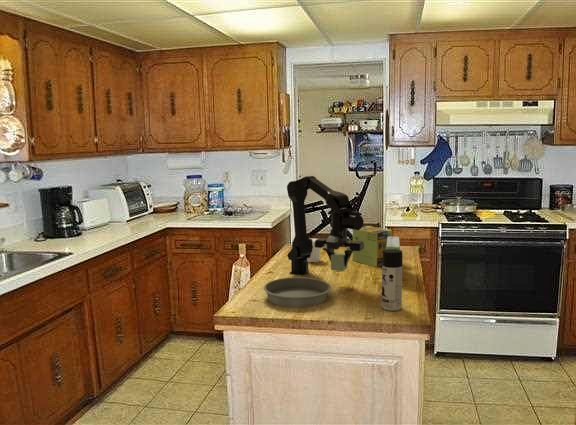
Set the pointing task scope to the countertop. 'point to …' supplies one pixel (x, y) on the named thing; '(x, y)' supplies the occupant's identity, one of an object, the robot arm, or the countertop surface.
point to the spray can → (392, 279)
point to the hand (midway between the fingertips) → (339, 265)
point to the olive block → (338, 261)
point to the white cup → (314, 253)
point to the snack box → (393, 243)
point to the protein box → (371, 244)
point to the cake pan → (297, 291)
